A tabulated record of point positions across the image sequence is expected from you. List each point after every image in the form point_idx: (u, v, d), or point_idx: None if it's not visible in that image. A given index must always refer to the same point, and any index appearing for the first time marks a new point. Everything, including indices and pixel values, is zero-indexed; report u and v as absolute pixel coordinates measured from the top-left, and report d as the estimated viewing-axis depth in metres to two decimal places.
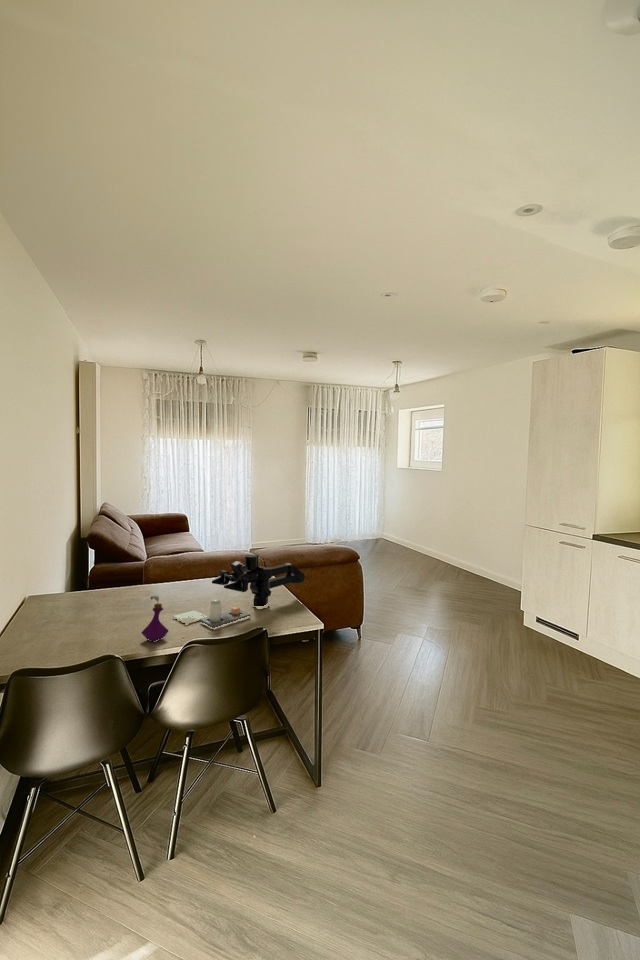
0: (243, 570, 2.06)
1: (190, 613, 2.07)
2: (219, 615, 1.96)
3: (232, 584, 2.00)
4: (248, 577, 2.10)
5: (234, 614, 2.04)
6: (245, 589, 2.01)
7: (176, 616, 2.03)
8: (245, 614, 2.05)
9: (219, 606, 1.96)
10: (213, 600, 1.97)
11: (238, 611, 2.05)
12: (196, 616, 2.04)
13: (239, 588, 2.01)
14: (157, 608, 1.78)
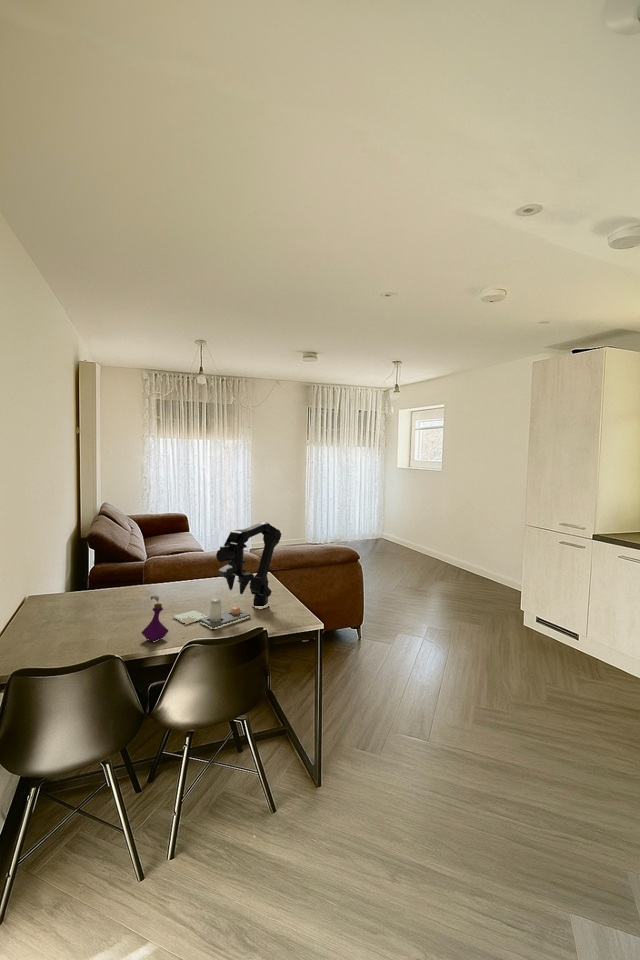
0: (232, 572, 1.98)
1: (190, 613, 2.07)
2: (219, 615, 1.96)
3: (242, 587, 2.01)
4: (239, 561, 2.02)
5: (234, 614, 2.04)
6: (252, 578, 2.00)
7: (176, 616, 2.03)
8: (245, 614, 2.05)
9: (219, 606, 1.96)
10: (213, 600, 1.97)
11: (238, 611, 2.05)
12: (196, 616, 2.04)
13: None
14: (157, 608, 1.78)
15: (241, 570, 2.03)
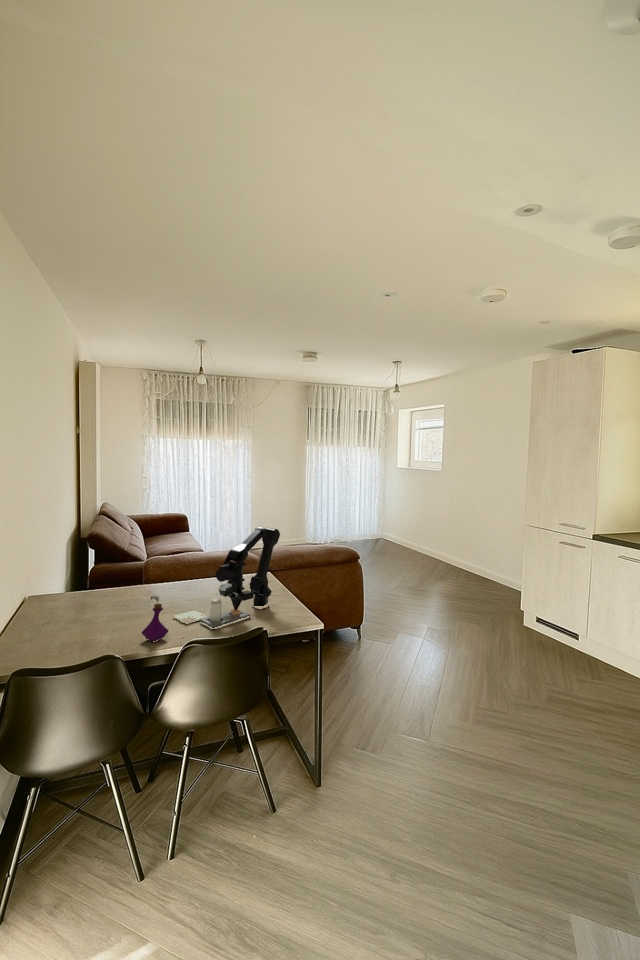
0: (232, 591, 1.98)
1: (190, 613, 2.07)
2: (219, 615, 1.96)
3: (236, 603, 2.04)
4: (238, 579, 2.02)
5: None
6: (252, 596, 2.00)
7: (176, 616, 2.03)
8: (245, 614, 2.05)
9: (219, 606, 1.96)
10: (213, 600, 1.97)
11: (238, 613, 2.05)
12: (196, 616, 2.04)
13: None
14: (157, 608, 1.78)
15: (241, 588, 2.04)
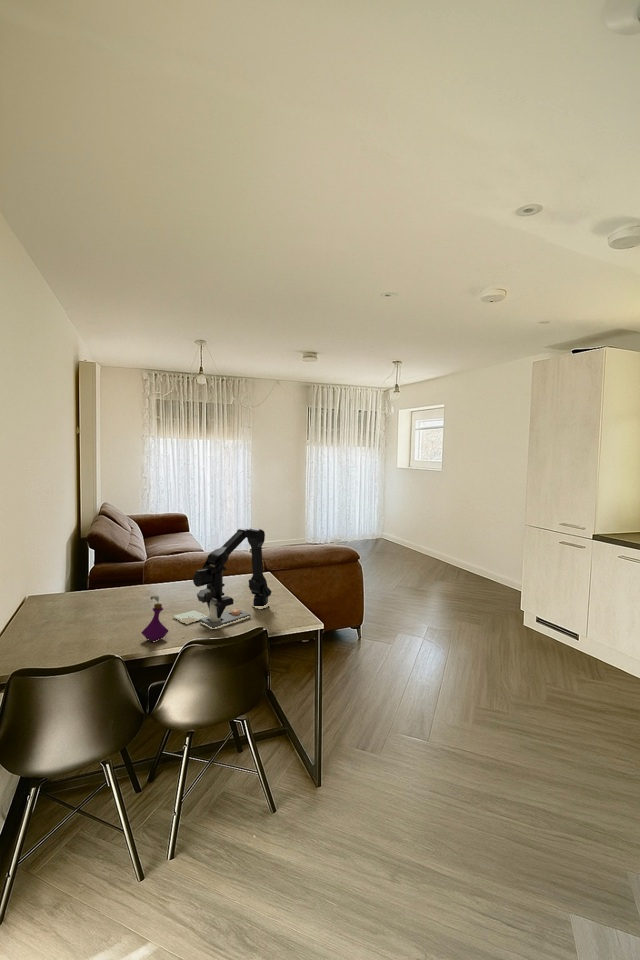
0: (211, 597, 1.90)
1: (190, 613, 2.07)
2: None
3: (219, 610, 1.95)
4: (218, 584, 1.94)
5: None
6: (231, 602, 1.92)
7: (176, 616, 2.03)
8: (245, 614, 2.05)
9: None
10: (213, 600, 1.97)
11: (238, 614, 2.05)
12: (196, 616, 2.04)
13: None
14: (157, 608, 1.78)
15: (220, 594, 1.96)
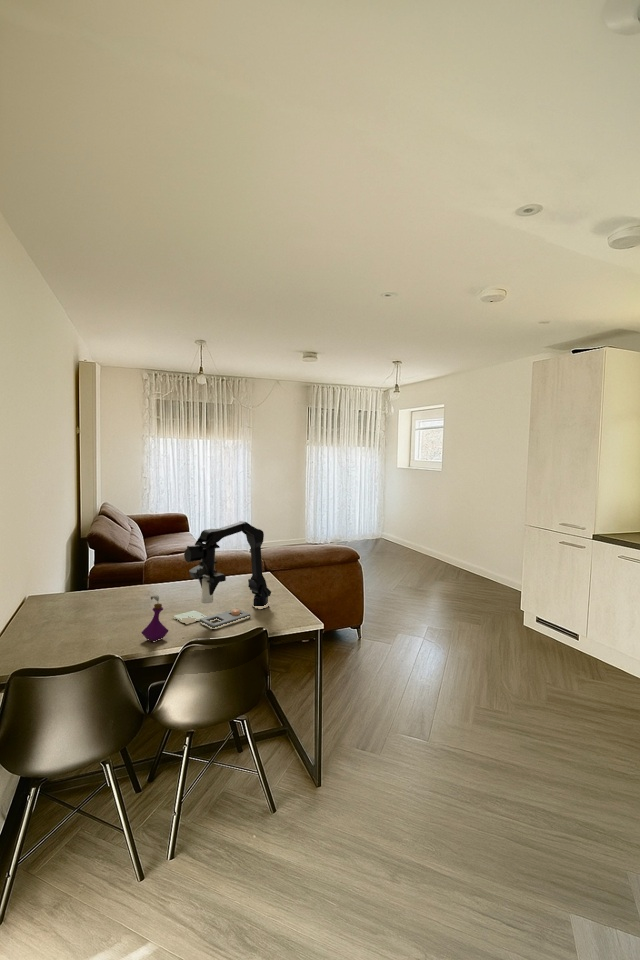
0: (203, 573, 1.91)
1: (190, 613, 2.07)
2: None
3: (211, 587, 1.95)
4: (210, 561, 1.95)
5: None
6: (224, 579, 1.93)
7: (176, 616, 2.03)
8: (245, 614, 2.05)
9: None
10: (205, 577, 1.98)
11: (238, 614, 2.05)
12: (196, 616, 2.04)
13: None
14: (157, 608, 1.78)
15: (212, 571, 1.97)
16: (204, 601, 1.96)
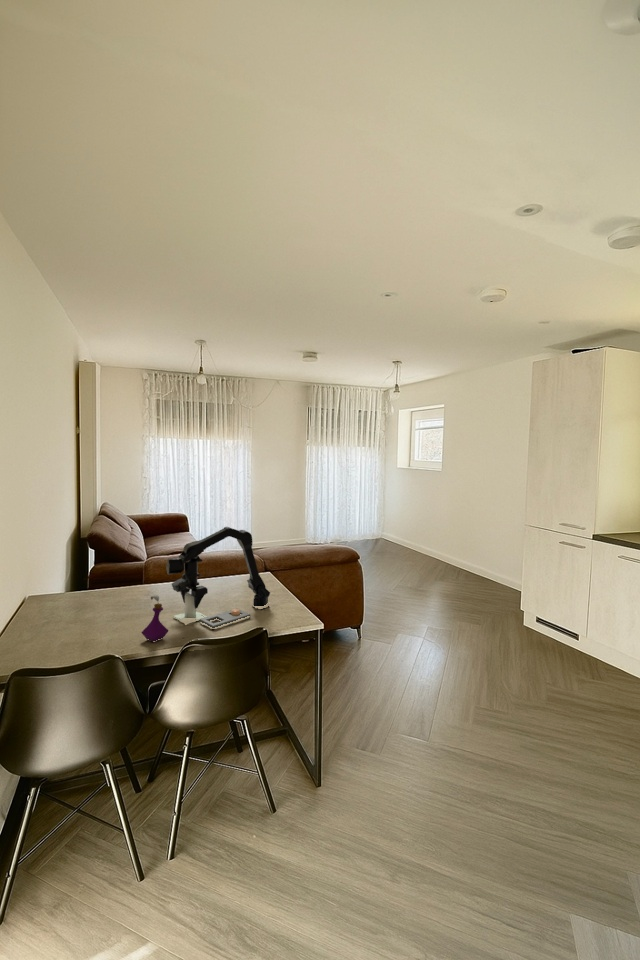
0: (185, 586, 1.96)
1: None
2: (194, 607, 2.02)
3: (196, 601, 1.99)
4: (192, 574, 2.00)
5: None
6: (205, 591, 1.98)
7: (176, 616, 2.03)
8: (245, 614, 2.05)
9: None
10: (188, 593, 2.02)
11: (238, 614, 2.05)
12: (196, 616, 2.04)
13: None
14: (157, 608, 1.78)
15: (195, 583, 2.01)
16: (187, 616, 2.01)
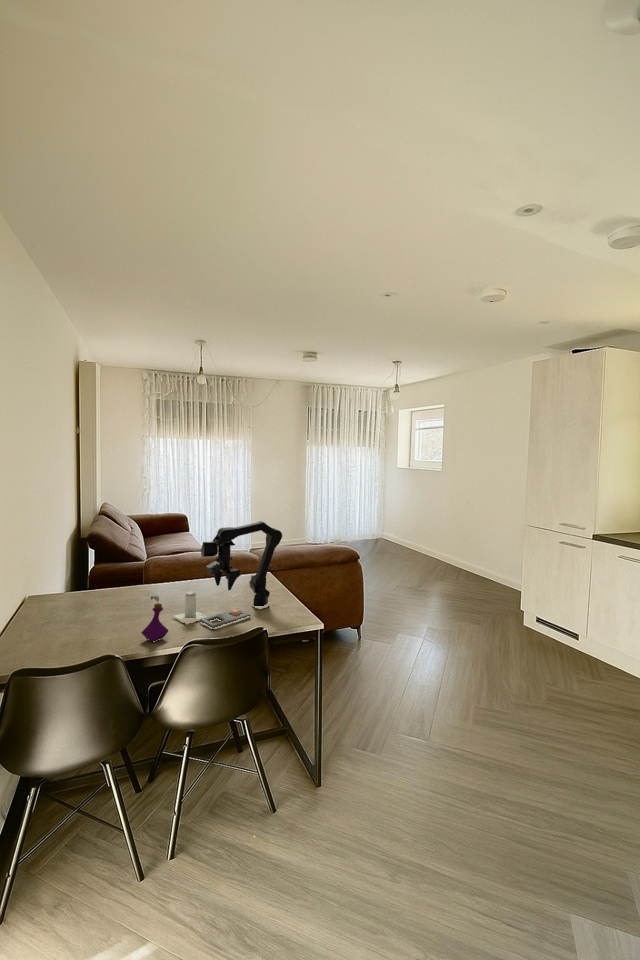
0: (219, 568, 2.03)
1: None
2: (194, 607, 2.02)
3: (230, 583, 2.06)
4: (226, 557, 2.08)
5: None
6: (239, 574, 2.05)
7: (176, 616, 2.03)
8: (245, 614, 2.05)
9: (194, 599, 2.01)
10: (188, 593, 2.02)
11: (238, 614, 2.05)
12: (196, 616, 2.04)
13: None
14: (157, 608, 1.78)
15: (228, 566, 2.09)
16: (187, 616, 2.01)
